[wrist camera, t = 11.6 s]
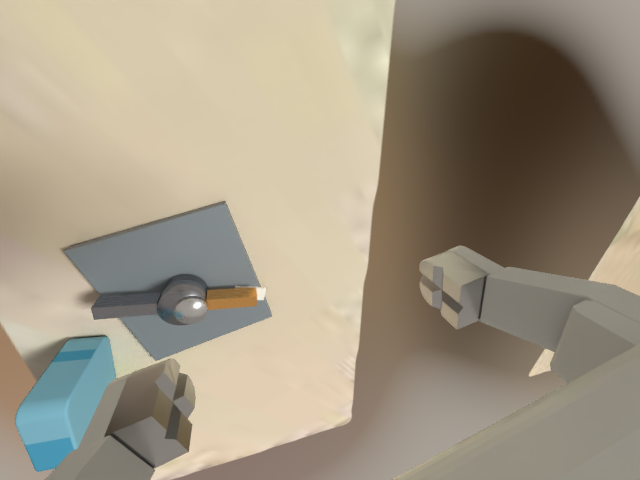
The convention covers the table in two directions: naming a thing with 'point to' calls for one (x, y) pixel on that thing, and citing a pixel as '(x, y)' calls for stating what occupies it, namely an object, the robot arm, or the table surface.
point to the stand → (174, 273)
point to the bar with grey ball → (175, 301)
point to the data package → (65, 400)
